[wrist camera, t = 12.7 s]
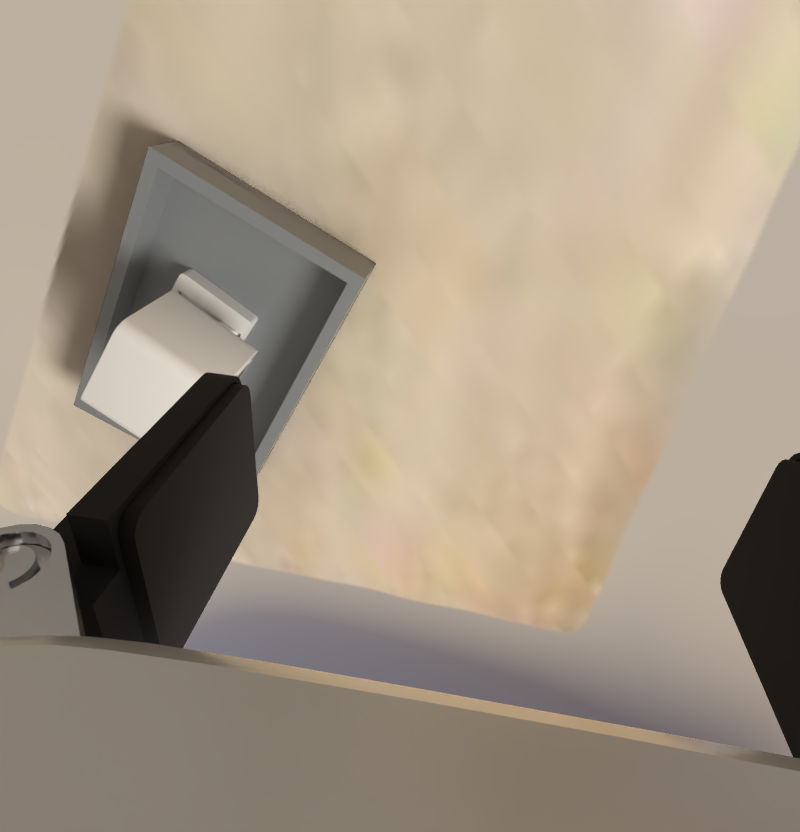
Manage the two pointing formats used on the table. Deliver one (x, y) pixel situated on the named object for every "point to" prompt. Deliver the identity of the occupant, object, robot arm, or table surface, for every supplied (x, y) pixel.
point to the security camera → (169, 352)
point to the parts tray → (233, 276)
